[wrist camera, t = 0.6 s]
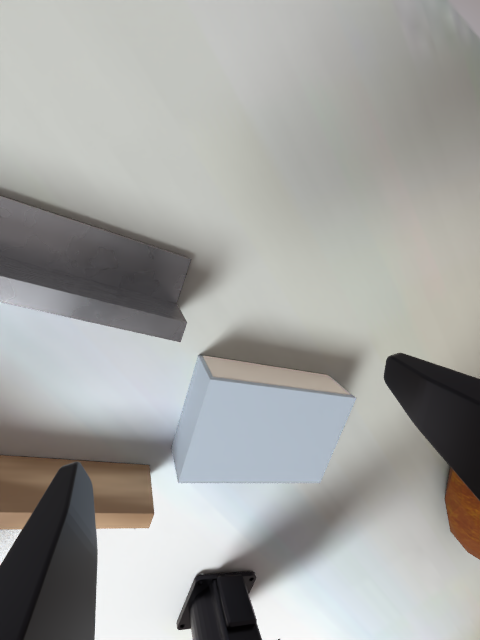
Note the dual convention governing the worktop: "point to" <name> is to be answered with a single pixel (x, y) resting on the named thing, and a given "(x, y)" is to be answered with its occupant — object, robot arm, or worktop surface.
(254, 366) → the boxed book
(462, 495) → the bread
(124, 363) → the worktop surface
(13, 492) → the oak shelf corner
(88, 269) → the grey angle iron
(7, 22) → the worktop surface
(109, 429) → the worktop surface
